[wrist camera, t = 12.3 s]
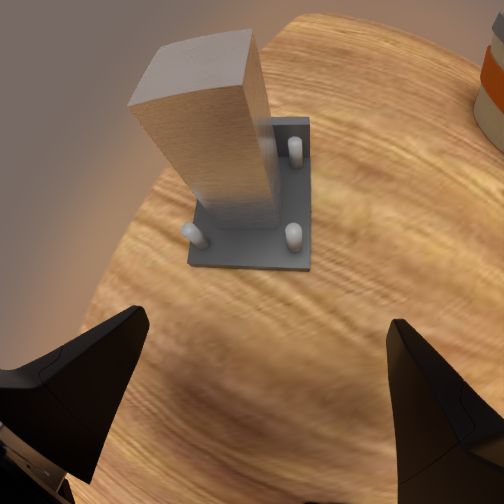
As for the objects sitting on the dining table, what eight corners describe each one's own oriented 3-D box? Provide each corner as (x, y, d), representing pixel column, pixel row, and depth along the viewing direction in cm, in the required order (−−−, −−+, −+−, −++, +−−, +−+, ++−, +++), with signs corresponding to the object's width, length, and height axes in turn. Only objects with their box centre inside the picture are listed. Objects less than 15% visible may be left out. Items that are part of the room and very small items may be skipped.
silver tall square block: (279, 228, 20) (242, 84, 7) (220, 228, 20) (126, 106, 8) (281, 176, 21) (252, 28, 9) (227, 178, 22) (160, 46, 9)
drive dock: (309, 271, 19) (311, 252, 15) (192, 266, 21) (162, 247, 16) (309, 156, 22) (309, 116, 17) (209, 159, 24) (190, 124, 19)
